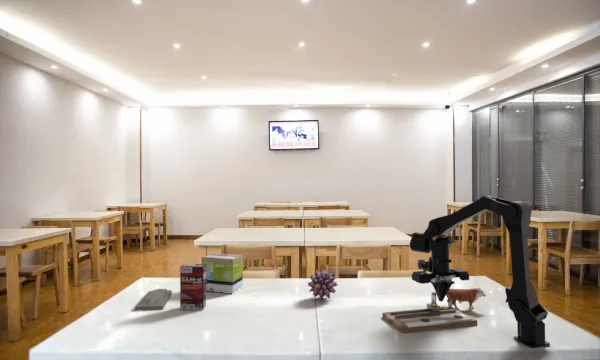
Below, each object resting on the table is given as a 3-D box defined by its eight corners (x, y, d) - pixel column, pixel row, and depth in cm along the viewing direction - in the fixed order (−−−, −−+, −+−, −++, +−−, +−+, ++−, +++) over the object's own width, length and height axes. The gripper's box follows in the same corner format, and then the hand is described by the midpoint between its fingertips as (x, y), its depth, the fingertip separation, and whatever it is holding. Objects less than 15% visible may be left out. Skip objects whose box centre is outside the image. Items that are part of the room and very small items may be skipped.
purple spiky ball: (343, 301, 146) (343, 270, 147) (314, 305, 142) (314, 273, 142) (330, 293, 157) (329, 264, 157) (303, 297, 153) (302, 267, 153)
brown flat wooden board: (477, 324, 122) (477, 315, 122) (402, 333, 116) (402, 323, 116) (450, 310, 135) (450, 302, 135) (382, 317, 129) (382, 308, 129)
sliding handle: (441, 310, 128) (441, 294, 128) (433, 311, 127) (433, 295, 127) (434, 306, 132) (434, 291, 132) (426, 307, 131) (426, 291, 131)
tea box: (200, 291, 162) (200, 256, 162) (212, 285, 172) (212, 252, 172) (232, 294, 158) (232, 258, 158) (243, 287, 167) (243, 254, 167)
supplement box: (179, 310, 138) (179, 266, 138) (183, 306, 143) (183, 263, 143) (203, 310, 138) (203, 266, 138) (206, 305, 143) (206, 263, 143)
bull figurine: (487, 312, 133) (487, 288, 133) (446, 310, 136) (446, 287, 136) (484, 308, 137) (483, 285, 137) (444, 306, 140) (444, 283, 140)
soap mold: (133, 312, 138) (133, 302, 138) (147, 296, 158) (147, 287, 158) (163, 311, 140) (163, 301, 140) (173, 295, 160) (173, 286, 160)
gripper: (450, 249, 140) (450, 292, 140) (403, 252, 136) (404, 296, 136) (470, 255, 129) (470, 301, 129) (420, 258, 125) (420, 306, 125)
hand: (440, 301), depth 130 cm, fingers closed
